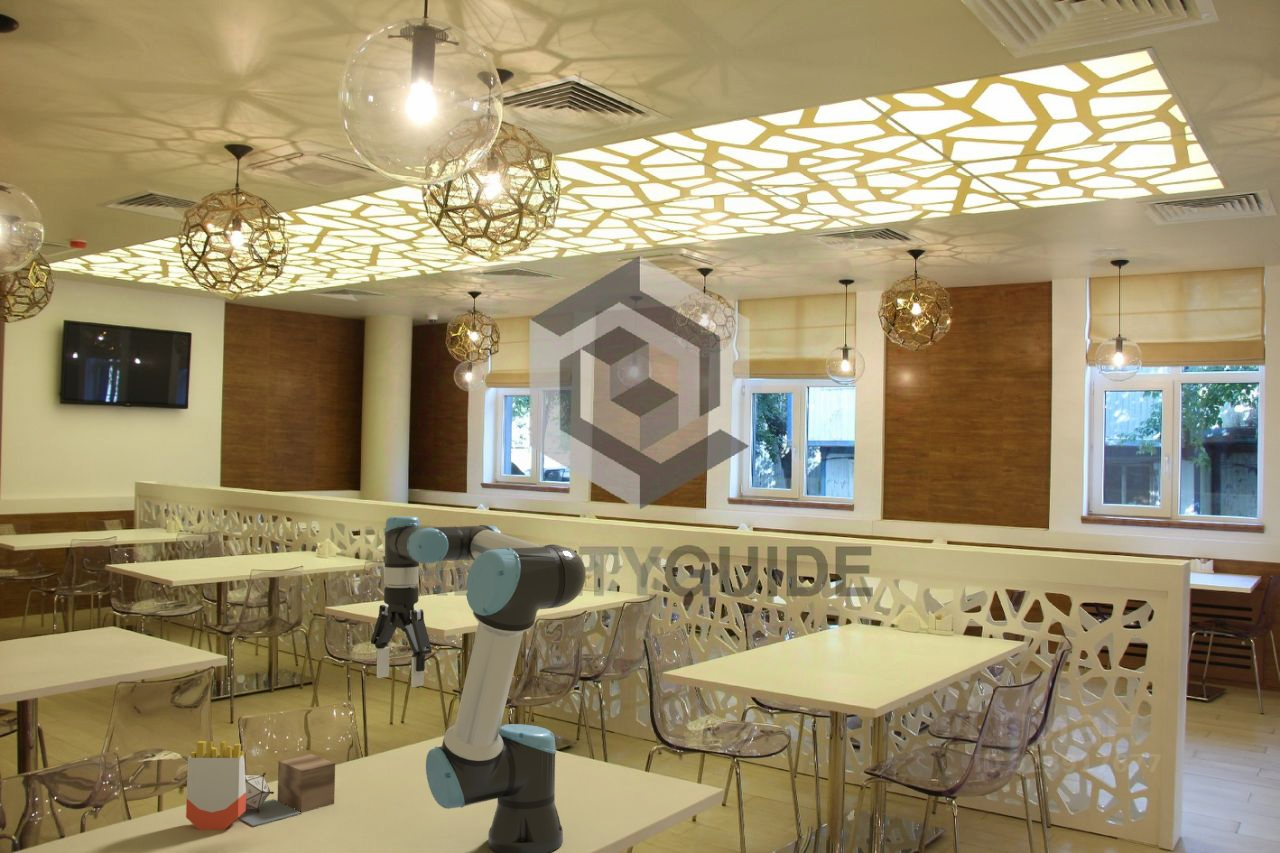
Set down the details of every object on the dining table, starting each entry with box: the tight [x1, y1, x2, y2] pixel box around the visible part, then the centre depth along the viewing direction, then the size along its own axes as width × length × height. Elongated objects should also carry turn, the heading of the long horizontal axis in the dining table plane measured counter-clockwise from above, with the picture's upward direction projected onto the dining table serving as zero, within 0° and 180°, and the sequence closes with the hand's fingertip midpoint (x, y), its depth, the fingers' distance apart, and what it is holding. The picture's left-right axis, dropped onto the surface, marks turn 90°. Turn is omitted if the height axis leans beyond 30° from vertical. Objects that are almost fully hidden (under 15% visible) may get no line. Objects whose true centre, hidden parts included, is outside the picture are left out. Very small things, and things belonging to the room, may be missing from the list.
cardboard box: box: [277, 753, 336, 813], centre depth 222 cm, size 11×8×9 cm
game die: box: [245, 771, 275, 813], centre depth 215 cm, size 9×8×10 cm
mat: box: [237, 798, 303, 828], centre depth 214 cm, size 13×11×1 cm
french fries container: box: [185, 740, 246, 830], centre depth 207 cm, size 5×11×18 cm, turn 91°
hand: (399, 681), depth 216 cm, fingers open, 13 cm apart
